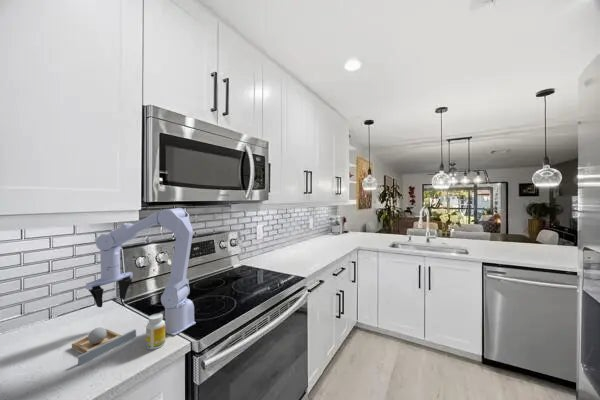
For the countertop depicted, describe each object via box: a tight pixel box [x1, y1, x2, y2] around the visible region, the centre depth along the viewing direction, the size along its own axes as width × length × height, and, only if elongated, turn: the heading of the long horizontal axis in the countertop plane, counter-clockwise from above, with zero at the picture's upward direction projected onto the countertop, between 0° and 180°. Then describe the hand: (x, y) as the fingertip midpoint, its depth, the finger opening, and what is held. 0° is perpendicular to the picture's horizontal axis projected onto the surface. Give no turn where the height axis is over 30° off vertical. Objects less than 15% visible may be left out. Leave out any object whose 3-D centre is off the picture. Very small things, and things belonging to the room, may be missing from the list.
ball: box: [87, 327, 107, 344], centre depth 83 cm, size 5×5×5 cm
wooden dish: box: [71, 328, 122, 354], centre depth 83 cm, size 10×10×2 cm
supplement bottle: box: [145, 312, 166, 350], centre depth 82 cm, size 5×5×10 cm
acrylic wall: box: [77, 328, 137, 366], centre depth 80 cm, size 16×1×2 cm, turn 154°
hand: (111, 302), depth 93 cm, fingers open, 7 cm apart
